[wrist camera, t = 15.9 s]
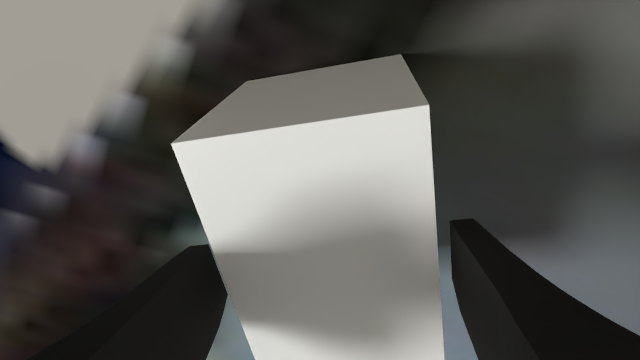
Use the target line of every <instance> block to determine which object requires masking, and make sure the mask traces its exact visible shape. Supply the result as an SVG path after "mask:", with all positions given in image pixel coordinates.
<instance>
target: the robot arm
mask: <svg viewBox="0 0 640 360" xmlns="http://www.w3.org/2000/svg"><path fill="white" fill-rule="evenodd" d="M450 240H451V264H452V280H453V284H454V288H455V292H456V296H457V300H458V304H459V308H460V312H461V314H462V317H463V320H464V323H465V325H466V328H467V331H468V333H469V336H470V339H471V341H472V344H473V346H474V349H475V352H476V354H477V357H478V360H640V336H639V335H637V334H635V333H633V332H631V331H629V330H628V329H626V328H624V327H622V326H620V325H618V324H617V323H615V322H613V321H611V320H610V319H608V318H606V317H604V316H603V315H601V314H599V313H598V312H596V311H594V310H593V309H591V308H589V307H588V306H586V305H585V304H583V303H581V302H580V301H578V300H576V299H575V298H573V297H572V296H570V295H569V294H567V293H566V292H564V291H563V290H561V289H560V288H558V287H557V286H555V285H554V284H552V283H551V282H550V281H548V280H547V279H545V278H544V277H543V276H541V275H540V274H539V273H537V272H536V271H535V270H533V269H532V268H531V267H530V266H528V265H527V264H526V263H525V262H523V261H522V260H521V259H520V258H518V257H517V256H516V255H515V254H513V253H512V252H511V251H510V250H509V249H507V248H506V247H505V246H504V245H503V244H502V243H500V242H499V241H498V240H497V239H496V238H495V237H493V236H492V235H491V234H490V233H489V232H488V231H487V230H486V229H485V228H483V227H482V226H481V225H480V224H479V223H478V222H477V221H475V220H474V219H473V218H472V219H462V220H452V221H450ZM227 295H228V294H227V291H226V289H225V286H224V283H223V281H222V278H221V276H220V273H219V271H218V268H217V266H216V263H215V260H214V258H213V255H212V253H211V250H210V248H209V245H208V244H207V245H197V246H190V247H188V248H187V249H185V250H184V251H182V252H181V253H179V254H178V255H177V256H175V257H174V258H173V259H171V260H170V261H169V262H167V263H166V264H165V265H163V266H162V267H161V268H160V269H158V270H157V271H156V272H155V273H153V274H152V275H151V276H149V277H148V278H147V279H146V280H144V281H143V282H142V283H140V284H139V285H138V286H137V287H135V288H134V289H133V290H131V291H130V292H129V293H127V294H126V295H125V296H123V297H122V298H121V299H119V300H118V301H116V302H115V303H114V304H112V305H111V306H110V307H108V308H107V309H106V310H104V311H103V312H101V313H100V314H99V315H97V316H96V317H94V318H93V319H91V320H90V321H89V322H87V323H86V324H84V325H83V326H81V327H80V328H78V329H76V330H75V331H73V332H72V333H70V334H68V335H67V336H65V337H64V338H62V339H61V340H59V341H57V342H56V343H54V344H52V345H51V346H49V347H47V348H45V349H44V350H42V351H40V352H38V353H37V354H35V355H33V356H31V357H30V358H28V359H26V360H206V358H207V355H208V353H209V351H210V348H211V346H212V343H213V341H214V338H215V336H216V333H217V331H218V328H219V326H220V322H221V319H222V315H223V312H224V307H225V303H226V299H227Z"/></svg>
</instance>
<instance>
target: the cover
mask: <svg viewBox="0 0 640 360" xmlns="http://www.w3.org/2000/svg"><path fill="white" fill-rule="evenodd" d="M171 145H172V147H173V150H174V153H175V155H176V158H177V160H178V163H179V165H180V168H181V171H182V173H183V176H184V178H185V181H186V183H187V186H188V188H189V191H190V194H191V196H192V199H193V201H194V204H195V206H196V209H197V212H198V214H199V217H200V219H201V222H202V224H203V227H204V230H205V232H206V235H207V237H208V240H209V242H210V245H211V247H212V250H213V253H214V255H215V258H216V260H217V263H218V265H219V268H220V271H221V273H222V276H223V278H224V281H225V283H226V286H227V289H228V291H229V294H230V296H231V299H232V301H233V304H234V306H235V309H236V312H237V314H238V317H239V319H240V322H241V324H242V327H243V330H244V332H245V335H246V337H247V340H248V342H249V345H250V348H251V350H252V353H253V355H254V358H255V360H444V345H443V328H442V312H441V295H440V278H439V261H438V245H437V228H436V211H435V194H434V178H433V161H432V144H431V127H430V111H429V104H428V102H427V100H426V98H425V96H424V95H423V93H422V91H421V89H420V87H419V86H418V84H417V82H416V80H415V79H414V77H413V75H412V73H411V71H410V70H409V68H408V66H407V64H406V62H405V61H404V59H403V57H402V55H401V54H399V55H394V56H388V57H382V58H377V59H371V60H365V61H359V62H354V63H348V64H342V65H337V66H331V67H325V68H320V69H314V70H308V71H302V72H297V73H291V74H285V75H280V76H274V77H268V78H263V79H257V80H251V81H246V82H245V83H244V84H243V85H242V86H240V87H239V88H238V89H237V90H236V91H234V92H233V93H232V94H231V95H229V96H228V97H227V98H226V99H225V100H223V101H222V102H221V103H220V104H219V105H217V106H216V107H215V108H214V109H212V110H211V111H210V112H209V113H208V114H206V115H205V116H204V117H203V118H202V119H200V120H199V121H198V122H197V123H195V124H194V125H193V126H192V127H191V128H189V129H188V130H187V131H186V132H185V133H183V134H182V135H181V136H180V137H178V138H177V139H176V140H175V141H174V142H172V143H171Z"/></svg>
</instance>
